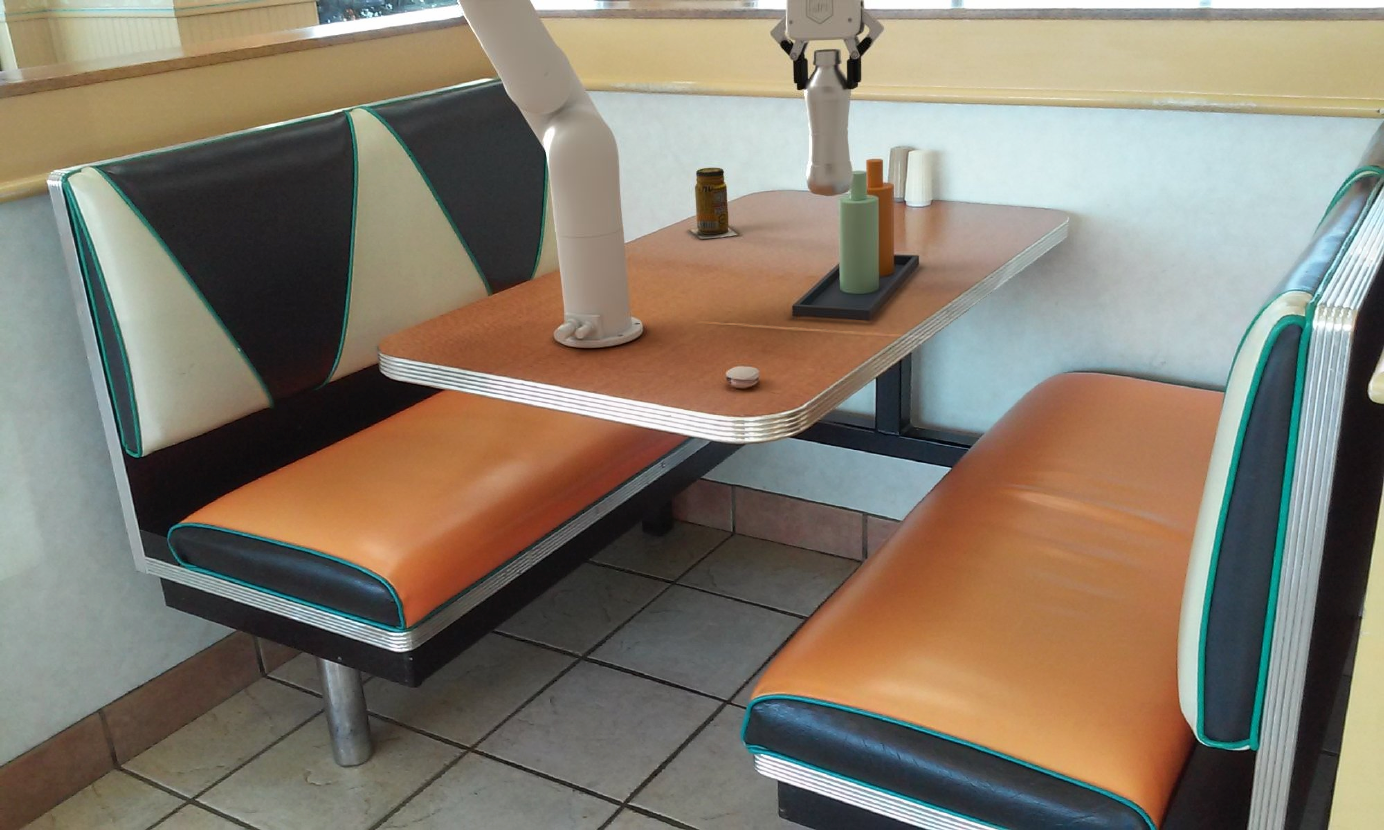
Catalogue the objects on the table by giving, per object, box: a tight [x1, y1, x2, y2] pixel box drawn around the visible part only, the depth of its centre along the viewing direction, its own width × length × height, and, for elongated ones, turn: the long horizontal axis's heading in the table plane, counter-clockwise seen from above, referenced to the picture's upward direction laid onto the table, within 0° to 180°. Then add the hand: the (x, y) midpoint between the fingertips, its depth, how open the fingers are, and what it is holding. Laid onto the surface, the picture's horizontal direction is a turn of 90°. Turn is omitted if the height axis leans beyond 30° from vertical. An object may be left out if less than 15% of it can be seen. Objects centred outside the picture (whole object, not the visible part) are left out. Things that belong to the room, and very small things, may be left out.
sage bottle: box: [837, 170, 879, 294], centre depth 178 cm, size 6×6×18 cm
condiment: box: [690, 167, 738, 240], centre depth 222 cm, size 7×8×12 cm
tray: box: [791, 253, 920, 322], centre depth 182 cm, size 31×12×2 cm, turn 157°
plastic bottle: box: [803, 48, 854, 197], centre depth 165 cm, size 6×7×20 cm
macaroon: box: [725, 365, 760, 389], centre depth 147 cm, size 4×5×2 cm
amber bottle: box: [865, 158, 895, 277], centre depth 186 cm, size 6×6×18 cm
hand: (827, 87), depth 163 cm, fingers closed on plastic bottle, 6 cm apart
